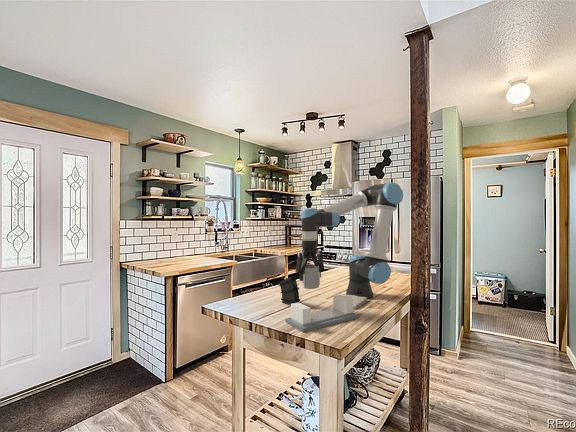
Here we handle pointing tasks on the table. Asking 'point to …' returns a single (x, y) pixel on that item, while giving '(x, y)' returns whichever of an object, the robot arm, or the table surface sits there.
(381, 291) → the table surface
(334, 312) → the steel rail
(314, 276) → the cup
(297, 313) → the block
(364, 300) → the washcloth
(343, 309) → the module
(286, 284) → the black ribbed block
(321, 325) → the rail board
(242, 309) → the table surface
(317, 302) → the table surface
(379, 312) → the table surface
